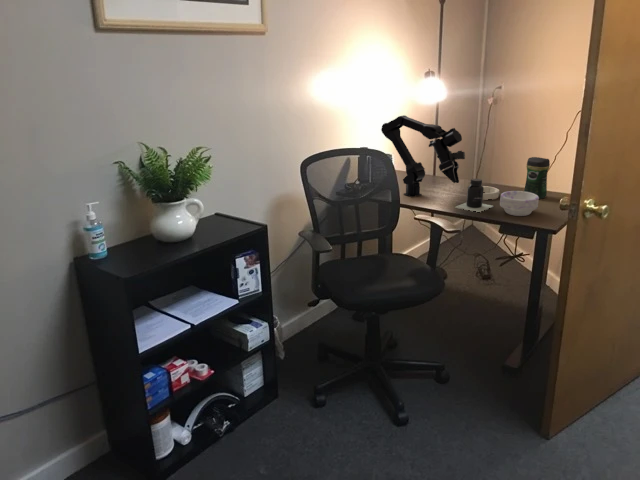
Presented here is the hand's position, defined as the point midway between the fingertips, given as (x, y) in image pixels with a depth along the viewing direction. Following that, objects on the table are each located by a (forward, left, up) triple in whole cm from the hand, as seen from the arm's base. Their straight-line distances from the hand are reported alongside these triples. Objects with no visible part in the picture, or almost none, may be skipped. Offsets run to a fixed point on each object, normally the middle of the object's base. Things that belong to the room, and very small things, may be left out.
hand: (456, 182), depth 236 cm
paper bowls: (+27, +10, -10) cm, 30 cm away
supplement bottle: (+9, +2, -9) cm, 13 cm away
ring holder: (-1, +20, -10) cm, 22 cm away
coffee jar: (+15, +37, -10) cm, 41 cm away
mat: (+10, +2, -10) cm, 14 cm away
